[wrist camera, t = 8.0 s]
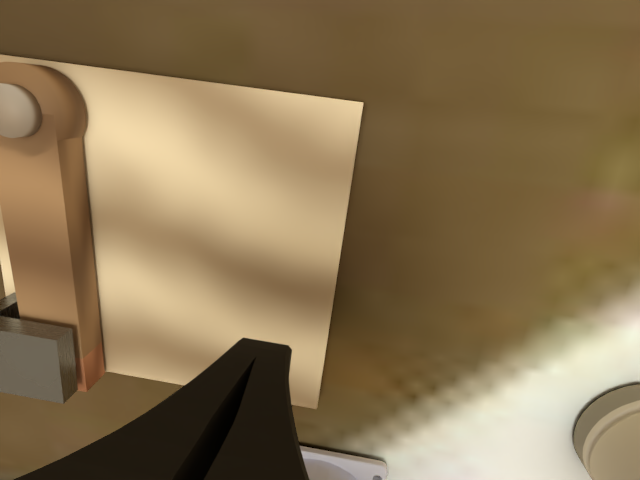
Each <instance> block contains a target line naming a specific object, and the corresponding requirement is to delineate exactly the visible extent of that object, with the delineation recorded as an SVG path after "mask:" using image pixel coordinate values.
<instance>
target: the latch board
mask: <svg viewBox="0 0 640 480" xmlns="http://www.w3.org/2000/svg"><path fill="white" fill-rule="evenodd" d="M0 62H18V63H27V64H36V65H43V66H48V67H51V68H53V69H55V70H57V71H59V72H60V73H62V74H63V75H64V76H66V77H67V78H68V79H69V80H70V81H71V82H72V83H73V85H74V86H75V87H76V89H77V90H78V92H79V94H80V96H81V98H82V100H83V103H84V107H85V112H86V126H85V130H84V133H83V136H82V146H83V157H84V167H85V177H86V187H87V197H88V207H89V217H90V228H91V238H92V248H93V258H94V268H95V278H96V288H97V299H98V309H99V319H100V329H101V339H102V349H103V359H104V370H105V371H108V372H113V373H119V374H124V375H130V376H136V377H141V378H147V379H152V380H158V381H163V382H169V383H174V384H180V385H186V384H187V383H189V382H190V381H191V380H193V379H194V378H195V377H196V376H198V375H199V374H200V373H201V372H203V371H204V370H205V369H206V368H208V367H209V366H210V365H211V364H212V363H214V362H215V361H216V360H217V359H218V358H219V357H221V356H222V355H223V354H224V353H225V352H226V351H228V350H229V349H230V348H231V347H232V346H233V345H234V344H236V343H237V342H238V341H239V340H240V339H242V338H249V339H255V340H261V341H266V342H272V343H278V344H284V345H289V347H290V348H291V349H292V355H291V363H290V372H289V388H290V397H291V405H297V406H302V407H308V408H313V409H317V405H318V399H319V392H320V386H321V379H322V372H323V366H324V359H325V353H326V346H327V340H328V333H329V326H330V320H331V313H332V307H333V300H334V294H335V287H336V280H337V274H338V267H339V261H340V254H341V248H342V241H343V235H344V228H345V221H346V215H347V208H348V202H349V195H350V189H351V182H352V175H353V169H354V162H355V156H356V149H357V143H358V136H359V129H360V123H361V116H362V110H363V102H356V101H348V100H341V99H333V98H326V97H318V96H311V95H303V94H295V93H288V92H280V91H273V90H265V89H258V88H250V87H242V86H235V85H227V84H220V83H212V82H205V81H197V80H190V79H182V78H174V77H167V76H159V75H152V74H144V73H137V72H129V71H121V70H114V69H106V68H99V67H91V66H84V65H76V64H68V63H61V62H53V61H46V60H38V59H31V58H23V57H16V56H8V55H0ZM0 261H1V268H2V274H3V280H4V287H5V293H6V296H8V295H10V294H12V293H14V292H15V287H14V281H13V275H12V269H11V264H10V258H9V252H8V246H7V241H6V235H5V229H4V224H3V218H2V212H1V206H0Z"/></svg>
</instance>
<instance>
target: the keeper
mask: <svg viewBox="0 0 640 480" xmlns="http://www.w3.org/2000/svg"><path fill="white" fill-rule="evenodd" d="M77 390H78V385H77V374H76V364H75V354H74V344H73V334H72V328H66V327H60V326H55V325H49V324H43V323H37V322H32V321H26V320H20V315H19V310H18V304H17V298H16V292H14V293H12V294H10V295H8V296H6V297H4V298H3V299H1V300H0V392H4V393H9V394H15V395H20V396H25V397H31V398H36V399H42V400H47V401H52V402H58V403H63V404H64V403H65V402H66V401H67V400H68V399H69V398H70V397H71V396H72V395H73V394H74V393H75V392H76V391H77Z"/></svg>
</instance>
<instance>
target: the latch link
mask: <svg viewBox="0 0 640 480" xmlns="http://www.w3.org/2000/svg"><path fill="white" fill-rule="evenodd" d="M85 126H86V112H85V107H84V103H83V100H82V98H81V96H80V94H79V92H78V90H77V89H76V87H75V86H74V85H73V83H72V82H71V81H70V80H69V79H68V78H67V77H66V76H64V75H63V74H62V73H60V72H59V71H57V70H55V69H53V68H51V67H48V66H43V65H36V64H27V63H18V62H0V206H1V212H2V218H3V224H4V229H5V235H6V241H7V246H8V252H9V258H10V264H11V269H12V275H13V281H14V287H15V292H16V298H17V304H18V310H19V315H20V320H26V321H32V322H37V323H43V324H49V325H55V326H60V327H66V328H72V334H73V344H74V354H75V364H76V374H77V385H78V390H79V391H85V392H87V391H88V390H89V389H90V388H91V387H92V386H93V385H94V384H95V383H96V382H97V381H98V380H99V379H100V378H101V377H102V375H103V374H104V373H105V370H104V359H103V349H102V339H101V329H100V319H99V309H98V299H97V288H96V278H95V268H94V258H93V248H92V238H91V228H90V217H89V207H88V197H87V187H86V177H85V167H84V157H83V146H82V136H83V133H84V130H85Z"/></svg>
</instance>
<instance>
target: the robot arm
mask: <svg viewBox="0 0 640 480" xmlns="http://www.w3.org/2000/svg"><path fill="white" fill-rule="evenodd" d="M291 355H292V349H291V348H290V347H289V345H284V344H278V343H272V342H266V341H261V340H255V339H249V338H242V339H240V340H239V341H238V342H237V343H236V344H234V345H233V346H232V347H231V348H230V349H229V350H228V351H226V352H225V353H224V354H223V355H222V356H221V357H219V358H218V359H217V360H216V361H215V362H214V363H212V364H211V365H210V366H209V367H208V368H206V369H205V370H204V371H203V372H201V373H200V374H199V375H198V376H196V377H195V378H194V379H193V380H191V381H190V382H189V383H187V384H186V385H185V386H183V387H182V388H181V389H179V390H178V391H176V392H175V393H174V394H172V395H171V396H169V397H168V398H167V399H165V400H164V401H162V402H161V403H160V404H158V405H157V406H155V407H154V408H152V409H151V410H149V411H148V412H146V413H145V414H143V415H141V416H140V417H138V418H137V419H135V420H133V421H132V422H130V423H128V424H127V425H125V426H123V427H122V428H120V429H118V430H116V431H115V432H113V433H111V434H109V435H107V436H105V437H103V438H101V439H99V440H97V441H95V442H93V443H91V444H90V445H88V446H86V447H84V448H82V449H80V450H78V451H76V452H74V453H72V454H70V455H68V456H66V457H64V458H62V459H60V460H57V461H55V462H53V463H51V464H49V465H46V466H44V467H42V468H40V469H38V470H35V471H33V472H30V473H28V474H26V475H23V476H21V477H19V478H16V479H14V480H386V477H387V465H386V464H385V463H384V462H383V461H379V460H374V459H369V458H363V457H358V456H353V455H347V454H342V453H336V452H331V451H326V450H320V449H315V448H310V447H304V446H300V445H299V441H298V437H297V433H296V428H295V423H294V417H293V412H292V405H291V397H290V388H289V372H290V363H291ZM375 475H378V476H375Z"/></svg>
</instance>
